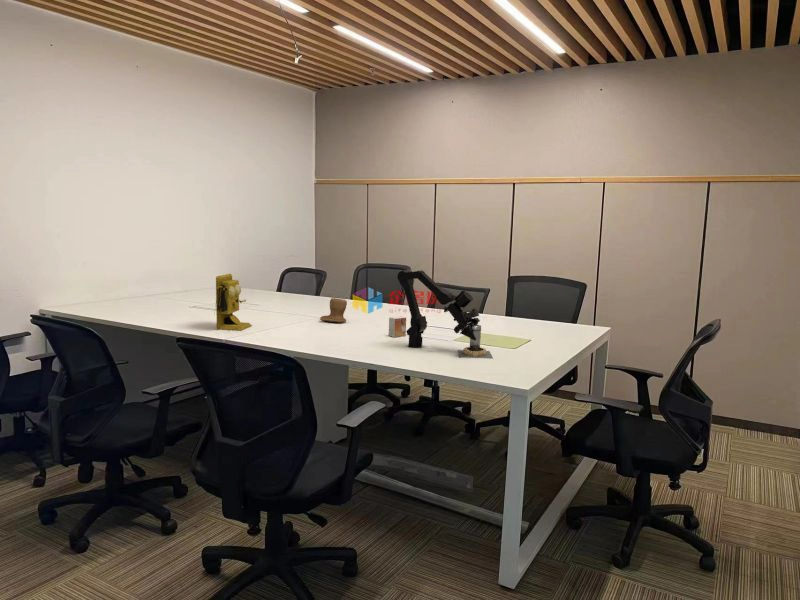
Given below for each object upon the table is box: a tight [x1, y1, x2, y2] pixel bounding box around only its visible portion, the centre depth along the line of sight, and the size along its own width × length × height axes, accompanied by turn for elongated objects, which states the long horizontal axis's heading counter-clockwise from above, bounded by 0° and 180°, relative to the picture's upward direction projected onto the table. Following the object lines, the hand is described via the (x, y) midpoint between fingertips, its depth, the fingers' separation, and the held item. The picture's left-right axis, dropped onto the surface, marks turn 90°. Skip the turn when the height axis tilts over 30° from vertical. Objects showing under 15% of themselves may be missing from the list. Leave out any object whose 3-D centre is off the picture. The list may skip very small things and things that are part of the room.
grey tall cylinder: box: [469, 324, 482, 351], centre depth 286 cm, size 5×5×13 cm
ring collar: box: [463, 346, 487, 357], centre depth 287 cm, size 10×10×2 cm
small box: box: [388, 316, 407, 338], centre depth 328 cm, size 8×6×10 cm
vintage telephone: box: [214, 273, 253, 332], centre depth 336 cm, size 31×14×30 cm, turn 171°
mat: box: [456, 349, 494, 360], centre depth 287 cm, size 16×16×1 cm
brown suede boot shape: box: [319, 297, 348, 323], centre depth 367 cm, size 15×12×15 cm
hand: (477, 339), depth 285 cm, fingers closed on grey tall cylinder, 5 cm apart
